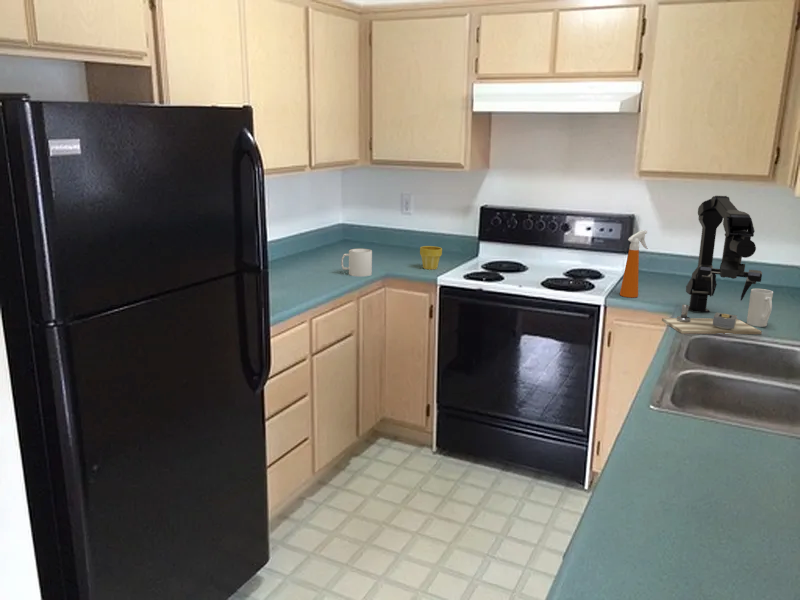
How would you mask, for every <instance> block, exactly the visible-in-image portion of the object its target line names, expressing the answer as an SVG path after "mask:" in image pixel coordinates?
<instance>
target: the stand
mask: <svg viewBox="0 0 800 600" xmlns="http://www.w3.org/2000/svg"><path fill="white" fill-rule="evenodd" d="M688 307H689V304H682V306H681V311H680V312H681V313H680V315H678V316H677V317H676V318H677V321H680V322H690V320H691V318H692V317H688V313H689V309H688Z"/></svg>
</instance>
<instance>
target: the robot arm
mask: <svg viewBox="0 0 800 600" xmlns="http://www.w3.org/2000/svg"><path fill="white" fill-rule="evenodd" d="M697 208H698V209H697V216H698V222H699V223H700V226H701V227H702V229H701V236H700V237H701V238H700V245H699V252H698V261H697V262H698V263H697V267H696V268H695V269H694V271H693V272H692V273H691V278H690V279H689V281H688V282H687V284H686V286H685V292H686V293H687V294H688V295H690V299H689V304H688V305H689V307H688V311H691V312H693V313H694V312H695V313H699V312H700V313H710V310H709V309H708V308H707V303H708V297H710V298H711V297H713V296H714V295H715V292H716V289H717V285H718V283H717V280H716V279H717V275H719V276H720V277H721V278H727V279H732V280H733V279H738V278H744V279H745V278H746V279H745V282H744V283H745V284H743V285H744V286H743V289H742V292H741V295H740V301H743V299H744V297H745V295H746V293H747V292H748V290H749V288H751V286H752V285H756V284H757V283H761V282H762V277H763V272H762V271H761V270H756V269H748V271H745V270H746V269H745V268H746V263H742V260H743V259H742V258H744V259H745V258H749V257H751V256H752V257H753V255H754V254H755V253H756V250H757V246H756V243H755V242H754V241H753V240H751V238H752V237H755V236H754V235H755V227H754V223H753V220H752V219H753V218H752V217H751V215H750V214H749V213H747V212H745V211H742V210H738V208H737V207H736V206H735V205H734V204H733V202H731V200H730V197H729V196H727V195H714V196H712V197H711V198H710V199H707V200H705V201H702V202H701V204H700V205H699V206H698V207H697ZM721 223H722V225H723V230H724V232H725V233H724V236H725V237H724V244H723V250H722V257H721V262H720V266H719V268H715V267H714V268H713V261H714V260H713V259H714V252H715V245H716V236H717V229H718V227H719V226H720V225H721ZM737 277H738V278H737Z"/></svg>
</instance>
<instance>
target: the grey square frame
mask: <svg viewBox="0 0 800 600" xmlns="http://www.w3.org/2000/svg"><path fill="white" fill-rule="evenodd" d="M722 314H724V312H723V313H722V312H715V314H714V315H713V318H712V319H713V325H714V326H720V327H727V328H733V329H734V327H735V325H736V319H738V314H737V315H735V314H730V313H729V315H730V316H729V318H726V317H721V316H722Z"/></svg>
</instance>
